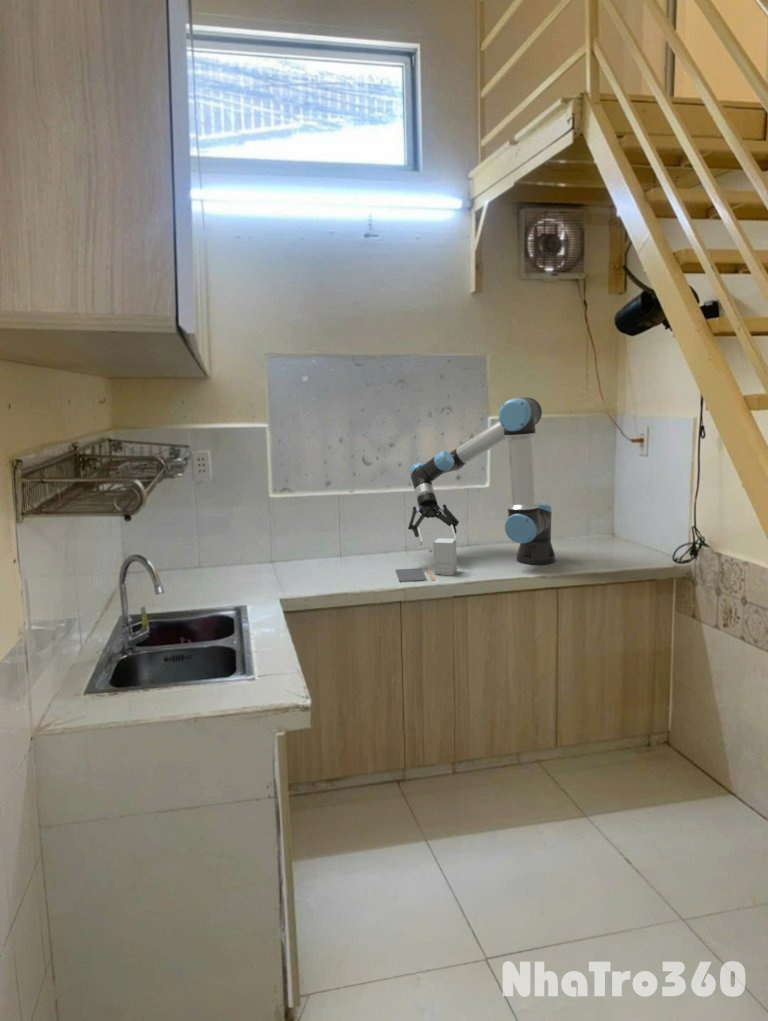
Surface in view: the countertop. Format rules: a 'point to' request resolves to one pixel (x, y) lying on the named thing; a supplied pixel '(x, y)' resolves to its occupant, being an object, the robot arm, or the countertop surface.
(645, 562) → the countertop surface
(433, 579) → the terracotta line
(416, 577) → the mat
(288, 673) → the countertop surface
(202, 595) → the countertop surface
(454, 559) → the supplement box
